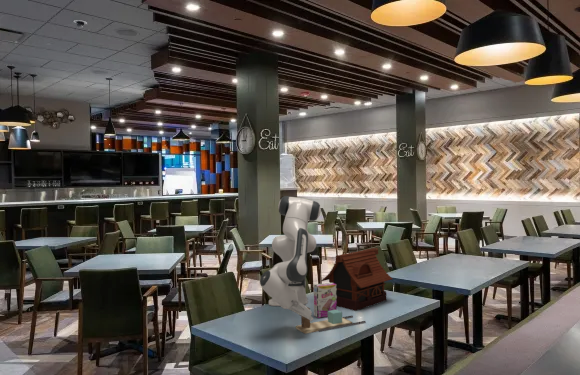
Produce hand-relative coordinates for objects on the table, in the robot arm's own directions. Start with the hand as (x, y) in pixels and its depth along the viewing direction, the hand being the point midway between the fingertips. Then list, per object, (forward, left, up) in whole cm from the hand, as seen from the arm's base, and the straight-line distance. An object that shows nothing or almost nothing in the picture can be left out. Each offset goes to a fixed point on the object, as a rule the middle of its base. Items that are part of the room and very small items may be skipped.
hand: (306, 317), depth 211 cm
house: (+29, +48, -6) cm, 57 cm away
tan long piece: (+8, +5, -6) cm, 11 cm away
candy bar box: (+9, +22, -6) cm, 24 cm away
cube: (+13, +8, -5) cm, 16 cm away
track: (+14, +8, -6) cm, 17 cm away
